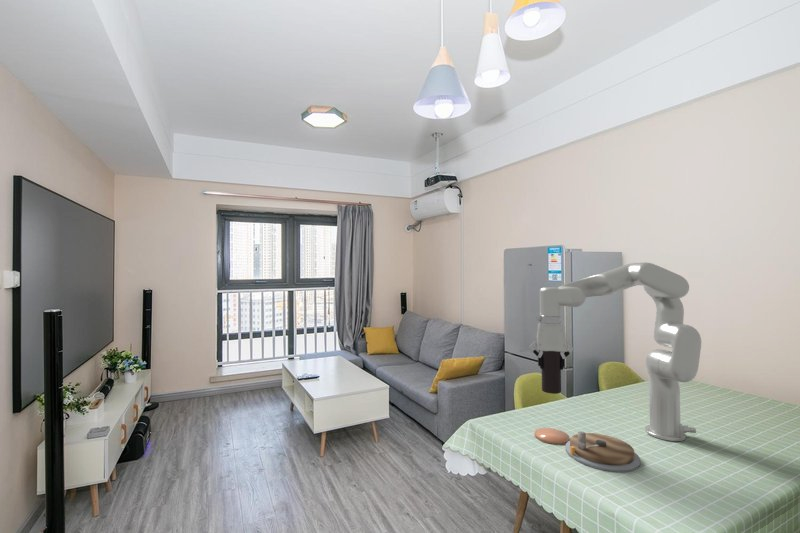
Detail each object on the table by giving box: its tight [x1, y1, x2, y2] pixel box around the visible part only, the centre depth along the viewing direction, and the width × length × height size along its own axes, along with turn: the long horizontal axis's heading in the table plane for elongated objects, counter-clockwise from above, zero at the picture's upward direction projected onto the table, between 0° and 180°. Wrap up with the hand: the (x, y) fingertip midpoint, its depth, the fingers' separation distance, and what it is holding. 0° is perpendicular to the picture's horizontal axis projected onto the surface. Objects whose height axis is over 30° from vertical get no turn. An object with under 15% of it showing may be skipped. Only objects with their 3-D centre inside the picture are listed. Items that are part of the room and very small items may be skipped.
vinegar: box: [541, 351, 562, 395], centre depth 142 cm, size 7×7×20 cm
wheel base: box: [565, 440, 641, 473], centre depth 127 cm, size 22×22×3 cm
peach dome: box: [534, 427, 570, 445], centre depth 141 cm, size 12×12×1 cm
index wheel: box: [569, 431, 635, 465], centre depth 127 cm, size 19×19×7 cm
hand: (551, 368), depth 142 cm, fingers closed on vinegar, 6 cm apart
